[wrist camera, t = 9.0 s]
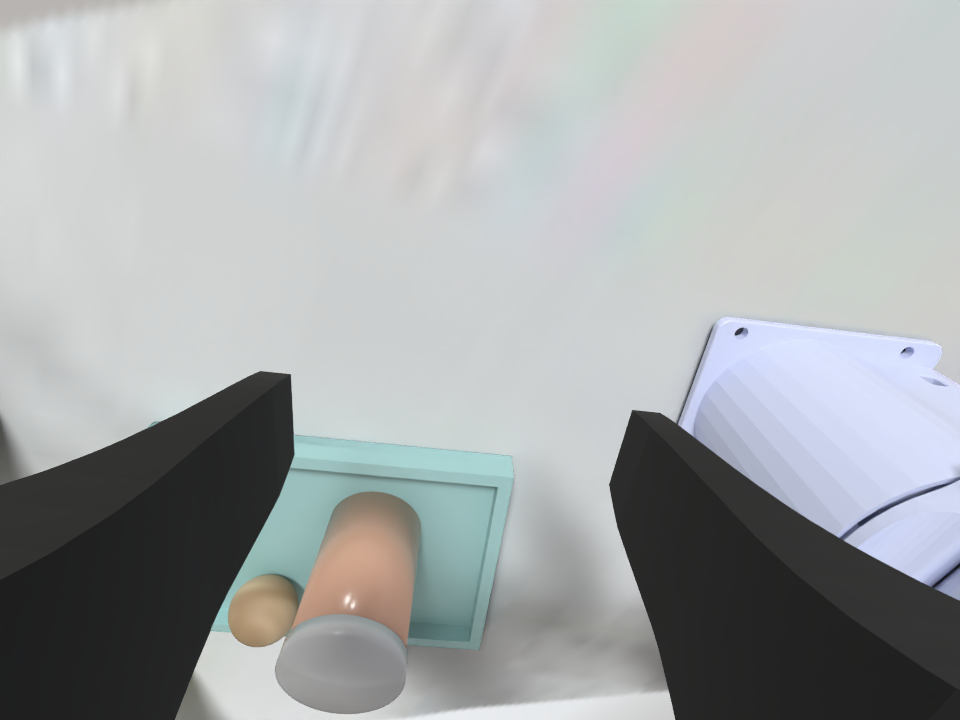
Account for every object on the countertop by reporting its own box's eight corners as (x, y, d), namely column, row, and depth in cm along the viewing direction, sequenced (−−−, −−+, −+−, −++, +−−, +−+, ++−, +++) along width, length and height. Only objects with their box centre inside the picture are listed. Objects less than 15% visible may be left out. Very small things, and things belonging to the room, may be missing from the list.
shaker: (428, 496, 24) (411, 642, 17) (417, 565, 26) (398, 719, 19) (329, 484, 23) (274, 629, 17) (326, 554, 25) (275, 708, 19)
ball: (306, 562, 26) (284, 620, 23) (307, 605, 27) (288, 664, 24) (241, 557, 25) (211, 615, 22) (246, 600, 27) (219, 659, 24)
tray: (511, 456, 23) (513, 477, 22) (479, 624, 29) (479, 650, 27) (153, 421, 22) (133, 441, 21) (189, 603, 28) (175, 628, 26)
